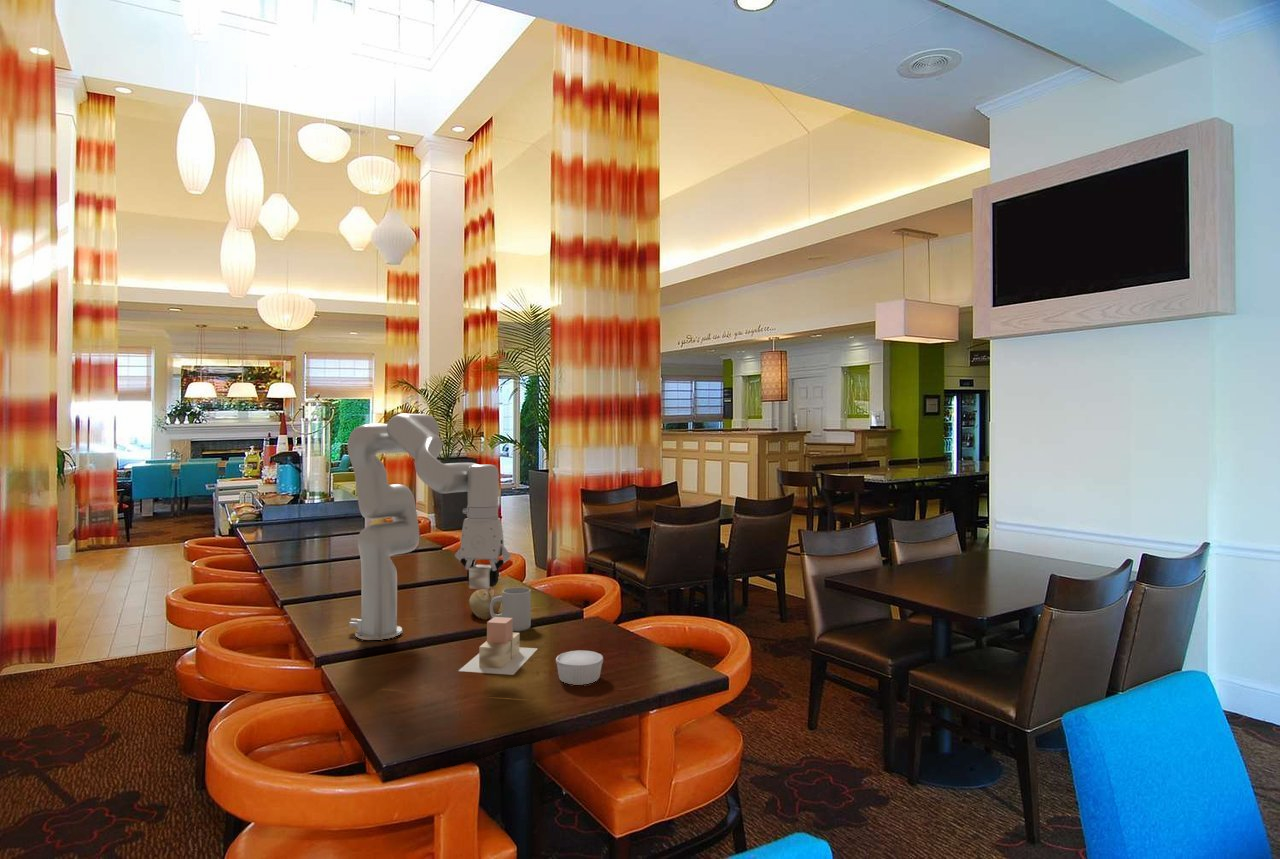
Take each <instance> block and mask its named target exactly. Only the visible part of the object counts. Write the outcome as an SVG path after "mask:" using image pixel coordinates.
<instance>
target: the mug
mask: <svg viewBox="0 0 1280 859" xmlns="http://www.w3.org/2000/svg"><path fill="white" fill-rule="evenodd" d="M531 595H532V591H531V589H530V588H528V587H523V586H522V587H521V586H518V587H517V586H515V587H507V588H504V589H503V590H502V592H501V595H499V596H497V597H494V598H493V599H492V600H491V603H490V614H491V617H492V618H494V617H504V618H513V632H523V631H527V630H528V629H530V628H531V627H532V626H531V625H532V623H531V622H532V621H531V620H532V619H531V617H532V616H531V611H532V610H531V608H532V604H531V602H532V596H531ZM495 602H501V613H497V614H495V613H494V612H493V605H494V603H495ZM492 618H491V619H492Z"/></svg>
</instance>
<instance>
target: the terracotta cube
mask: <svg viewBox="0 0 1280 859" xmlns="http://www.w3.org/2000/svg"><path fill="white" fill-rule="evenodd" d="M513 632H514V631H513V618H504V617H494V618H490V619H488V620H487V621H486V641H487V642H495V643H507V642H508V641H509V640H510V639H511V638H512V637H513Z"/></svg>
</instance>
